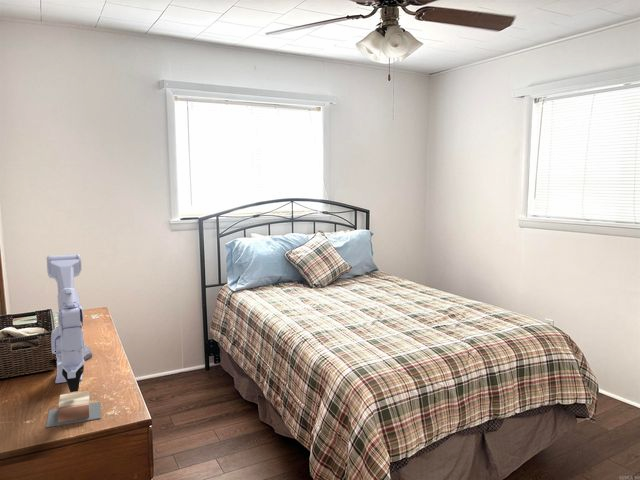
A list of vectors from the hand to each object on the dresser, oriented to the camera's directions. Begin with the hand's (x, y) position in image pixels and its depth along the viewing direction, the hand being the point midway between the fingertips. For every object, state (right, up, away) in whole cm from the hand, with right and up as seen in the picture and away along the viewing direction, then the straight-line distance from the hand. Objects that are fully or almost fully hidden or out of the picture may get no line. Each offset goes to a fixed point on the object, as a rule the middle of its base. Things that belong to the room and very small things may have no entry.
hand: (74, 390), depth 142 cm
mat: (+1, -7, -1) cm, 7 cm away
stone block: (-20, 0, +38) cm, 43 cm away
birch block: (-1, -4, +3) cm, 5 cm away
